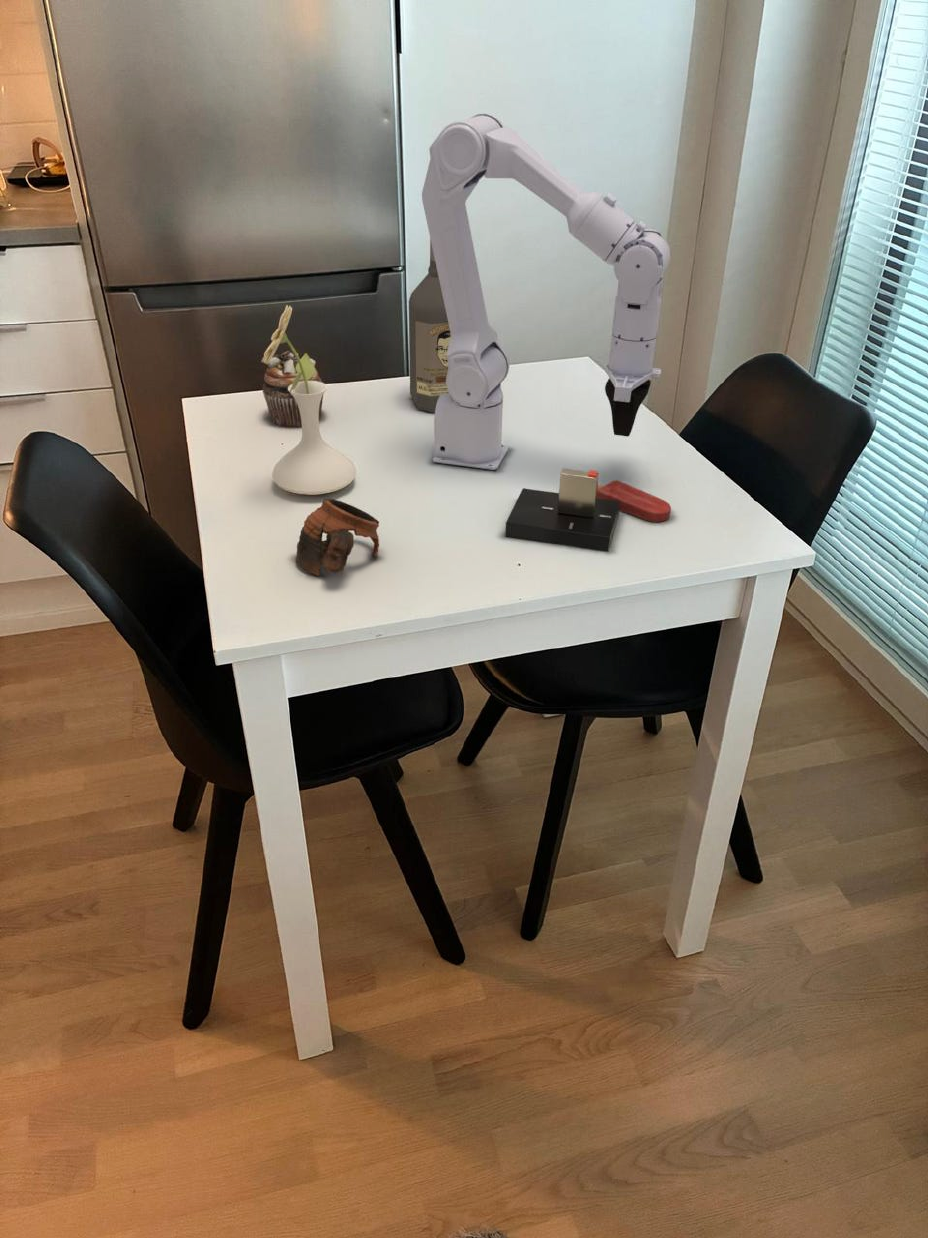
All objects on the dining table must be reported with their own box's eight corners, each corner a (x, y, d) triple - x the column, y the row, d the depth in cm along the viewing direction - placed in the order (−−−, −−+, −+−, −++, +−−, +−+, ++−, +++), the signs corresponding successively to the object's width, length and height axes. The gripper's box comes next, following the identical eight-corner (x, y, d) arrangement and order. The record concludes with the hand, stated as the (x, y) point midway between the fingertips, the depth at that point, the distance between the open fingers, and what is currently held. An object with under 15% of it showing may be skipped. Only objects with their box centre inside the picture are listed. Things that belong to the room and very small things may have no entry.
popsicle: (586, 467, 132) (678, 503, 124) (584, 478, 133) (676, 515, 125) (566, 477, 129) (659, 515, 121) (565, 488, 130) (657, 527, 122)
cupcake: (252, 420, 149) (244, 357, 143) (292, 401, 156) (287, 340, 150) (299, 434, 145) (294, 370, 139) (339, 413, 151) (335, 352, 146)
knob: (557, 513, 120) (560, 471, 117) (559, 507, 121) (562, 466, 118) (593, 518, 119) (597, 476, 116) (595, 512, 121) (599, 470, 117)
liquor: (407, 394, 159) (404, 201, 142) (460, 390, 161) (463, 200, 144) (418, 414, 152) (416, 214, 135) (474, 410, 154) (478, 212, 137)
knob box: (505, 536, 119) (505, 521, 118) (522, 501, 127) (522, 486, 126) (608, 551, 116) (610, 535, 115) (618, 514, 124) (620, 499, 123)
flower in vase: (297, 461, 137) (281, 282, 123) (370, 473, 133) (362, 292, 119) (251, 499, 126) (227, 310, 112) (328, 514, 123) (314, 321, 109)
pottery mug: (287, 549, 117) (312, 487, 115) (358, 576, 120) (384, 516, 118) (291, 576, 105) (319, 508, 104) (369, 605, 108) (398, 539, 107)
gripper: (660, 355, 115) (646, 459, 122) (670, 321, 126) (656, 417, 134) (602, 349, 116) (591, 452, 124) (617, 315, 128) (607, 411, 135)
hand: (622, 433), depth 129 cm, fingers closed
